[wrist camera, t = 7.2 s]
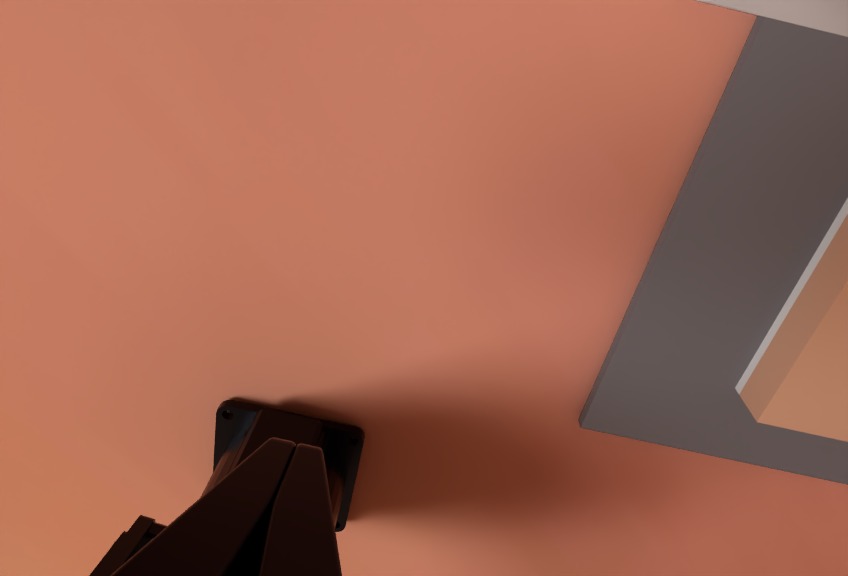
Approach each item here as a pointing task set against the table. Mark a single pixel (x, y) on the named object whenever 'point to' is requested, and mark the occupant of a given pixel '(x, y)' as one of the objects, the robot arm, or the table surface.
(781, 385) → the tile
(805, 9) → the turner
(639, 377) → the mat
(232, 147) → the table surface
